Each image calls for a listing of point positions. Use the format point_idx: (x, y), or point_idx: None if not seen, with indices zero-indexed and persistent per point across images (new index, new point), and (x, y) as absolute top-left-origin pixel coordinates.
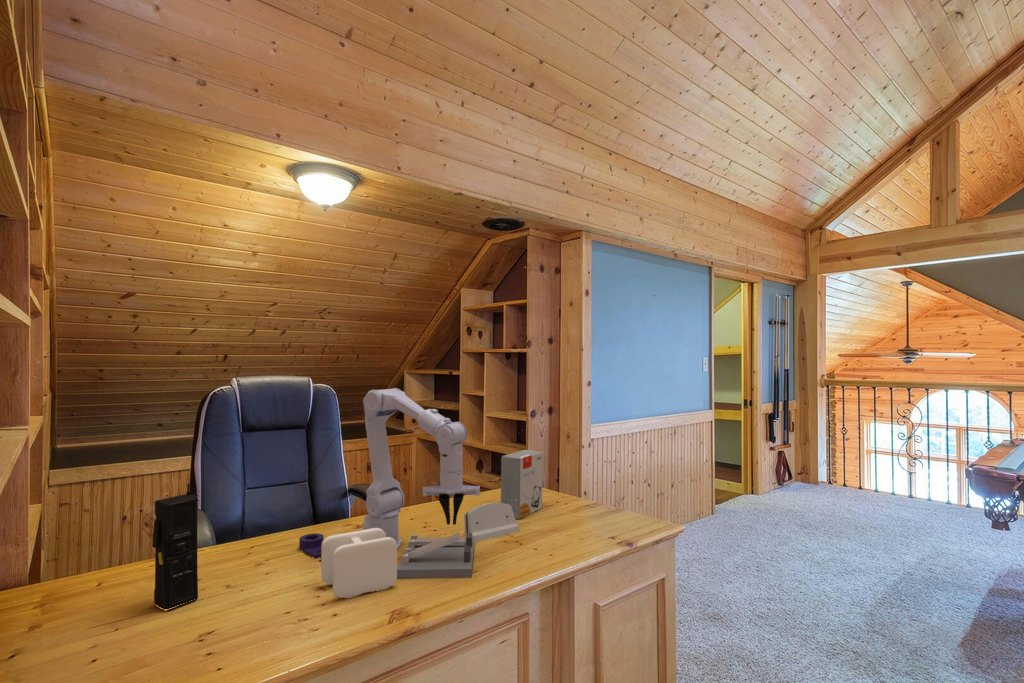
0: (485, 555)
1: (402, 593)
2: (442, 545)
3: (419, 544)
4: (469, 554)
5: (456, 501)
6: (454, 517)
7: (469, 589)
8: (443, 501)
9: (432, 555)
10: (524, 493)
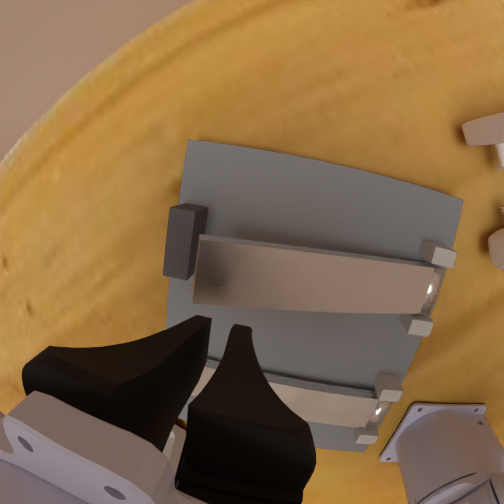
0: (139, 311)
1: (431, 81)
2: (292, 246)
3: (359, 391)
4: (176, 206)
5: (94, 366)
6: (186, 327)
7: (217, 55)
8: (257, 415)
9: None
10: None
